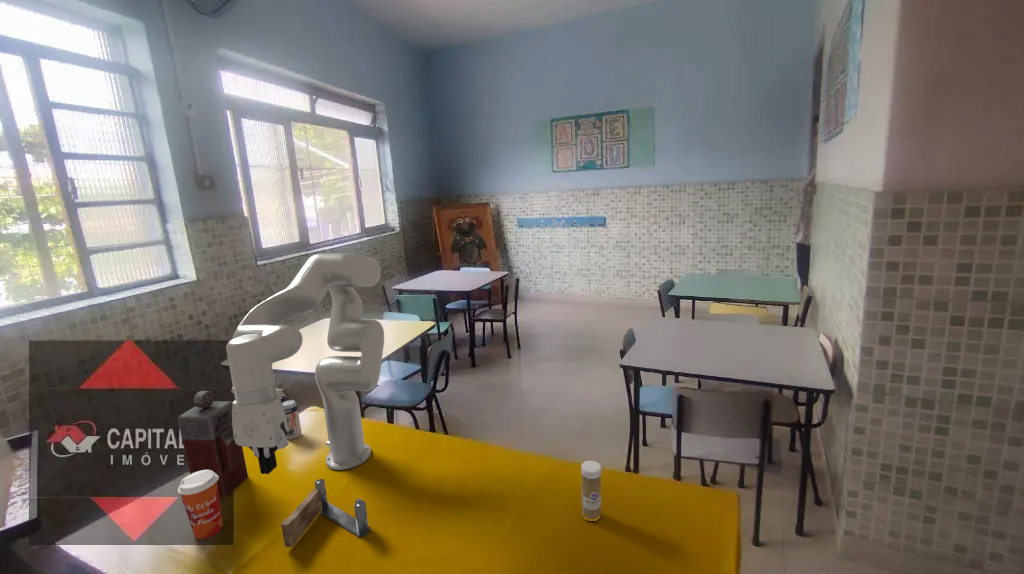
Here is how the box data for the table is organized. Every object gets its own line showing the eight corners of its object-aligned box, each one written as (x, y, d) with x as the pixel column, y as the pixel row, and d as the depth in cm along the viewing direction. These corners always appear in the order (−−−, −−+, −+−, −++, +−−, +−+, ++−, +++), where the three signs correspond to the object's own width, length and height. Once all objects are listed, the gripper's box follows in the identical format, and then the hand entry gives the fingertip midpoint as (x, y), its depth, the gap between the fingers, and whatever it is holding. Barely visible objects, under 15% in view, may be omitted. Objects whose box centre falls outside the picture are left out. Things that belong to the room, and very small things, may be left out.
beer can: (282, 440, 144) (276, 406, 141) (291, 432, 148) (286, 398, 146) (295, 441, 143) (290, 406, 140) (304, 432, 148) (299, 399, 145)
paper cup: (186, 547, 101) (173, 493, 98) (191, 526, 108) (179, 474, 105) (226, 534, 105) (215, 482, 102) (229, 514, 111) (219, 464, 108)
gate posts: (315, 510, 111) (311, 483, 110) (328, 501, 114) (324, 475, 113) (361, 538, 102) (357, 510, 100) (373, 529, 104) (370, 501, 103)
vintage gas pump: (234, 498, 117) (213, 400, 111) (194, 496, 118) (172, 399, 112) (256, 476, 126) (238, 384, 120) (219, 475, 127) (199, 384, 121)
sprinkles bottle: (588, 525, 103) (588, 474, 100) (577, 513, 107) (577, 463, 104) (605, 519, 105) (605, 468, 102) (593, 506, 109) (593, 457, 106)
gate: (316, 508, 111) (313, 488, 109) (322, 509, 110) (319, 488, 109) (285, 546, 99) (281, 524, 98) (292, 547, 99) (288, 524, 97)
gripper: (210, 399, 92) (226, 478, 96) (275, 402, 90) (289, 483, 94) (237, 384, 99) (251, 458, 103) (298, 386, 97) (310, 462, 101)
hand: (269, 470), depth 99 cm, fingers closed
